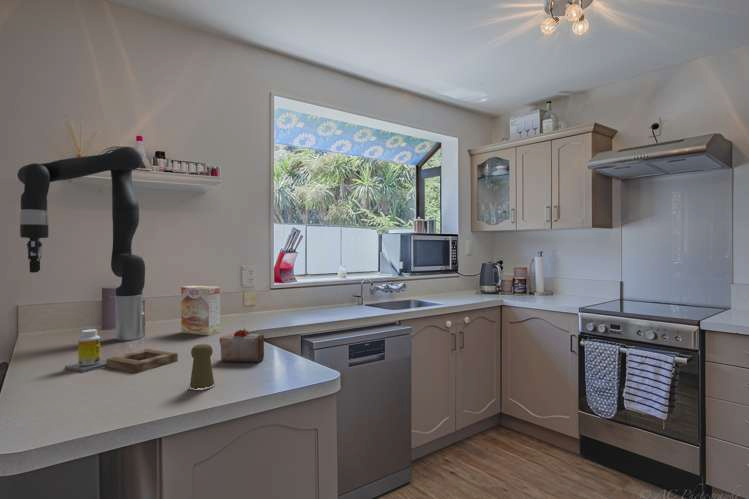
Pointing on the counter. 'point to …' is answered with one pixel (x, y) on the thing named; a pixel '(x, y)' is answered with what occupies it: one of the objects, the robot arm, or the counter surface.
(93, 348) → the supplement bottle
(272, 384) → the counter surface
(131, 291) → the robot arm
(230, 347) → the food item
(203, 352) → the cork
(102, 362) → the coaster
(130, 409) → the counter surface
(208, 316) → the coffeecake box
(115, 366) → the board
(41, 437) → the counter surface
